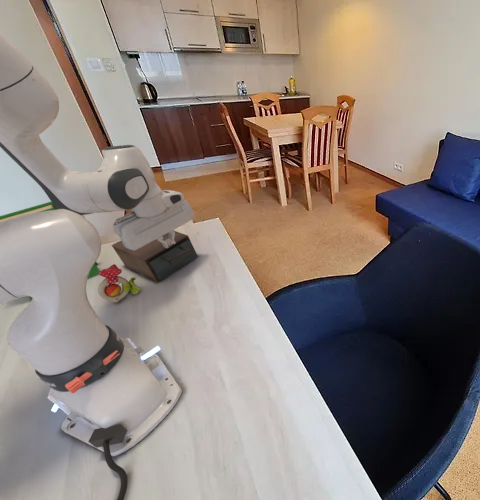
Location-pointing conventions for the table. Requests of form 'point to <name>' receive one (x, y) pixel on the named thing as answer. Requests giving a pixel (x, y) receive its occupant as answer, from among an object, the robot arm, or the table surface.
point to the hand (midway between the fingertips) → (170, 245)
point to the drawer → (172, 259)
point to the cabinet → (146, 255)
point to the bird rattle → (115, 285)
